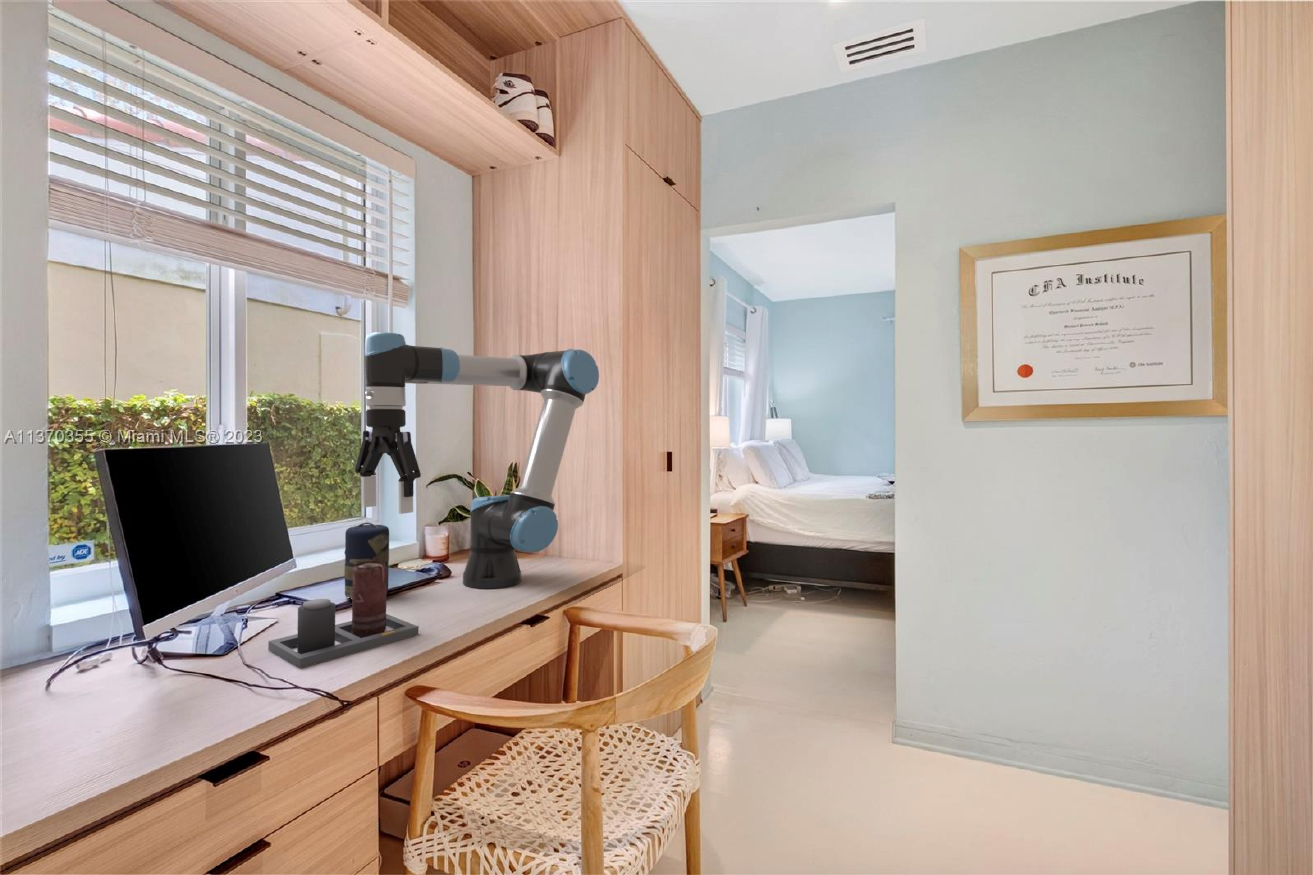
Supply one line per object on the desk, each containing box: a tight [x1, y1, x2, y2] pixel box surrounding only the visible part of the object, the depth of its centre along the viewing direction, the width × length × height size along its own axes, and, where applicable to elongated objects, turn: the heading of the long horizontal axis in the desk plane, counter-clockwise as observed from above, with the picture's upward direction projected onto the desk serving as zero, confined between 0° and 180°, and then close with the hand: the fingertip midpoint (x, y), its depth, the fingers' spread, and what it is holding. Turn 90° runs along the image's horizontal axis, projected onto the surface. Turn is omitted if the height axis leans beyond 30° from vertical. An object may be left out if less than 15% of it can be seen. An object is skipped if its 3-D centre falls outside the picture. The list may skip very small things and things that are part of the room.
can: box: [351, 561, 388, 638], centre depth 119 cm, size 6×6×14 cm
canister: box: [343, 522, 390, 598], centre depth 143 cm, size 10×10×18 cm
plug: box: [296, 598, 336, 654], centre depth 110 cm, size 6×6×9 cm
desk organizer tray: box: [268, 613, 420, 669], centre depth 115 cm, size 22×13×2 cm, turn 143°
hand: (387, 509), depth 125 cm, fingers open, 13 cm apart
